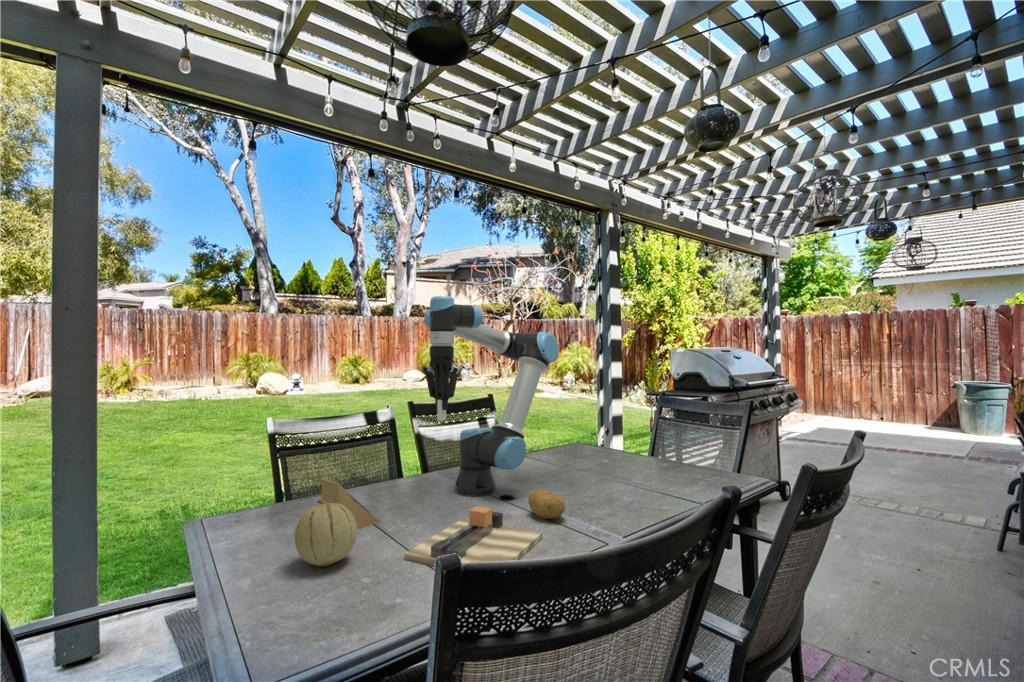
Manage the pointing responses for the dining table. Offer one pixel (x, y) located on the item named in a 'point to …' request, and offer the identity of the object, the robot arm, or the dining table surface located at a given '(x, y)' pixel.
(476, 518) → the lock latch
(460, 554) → the upper tong arm
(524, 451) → the robot arm
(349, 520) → the cantaloupe
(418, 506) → the dining table surface
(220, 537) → the dining table surface
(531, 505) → the potato
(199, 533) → the dining table surface
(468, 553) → the tongs board
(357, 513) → the sandwich container
